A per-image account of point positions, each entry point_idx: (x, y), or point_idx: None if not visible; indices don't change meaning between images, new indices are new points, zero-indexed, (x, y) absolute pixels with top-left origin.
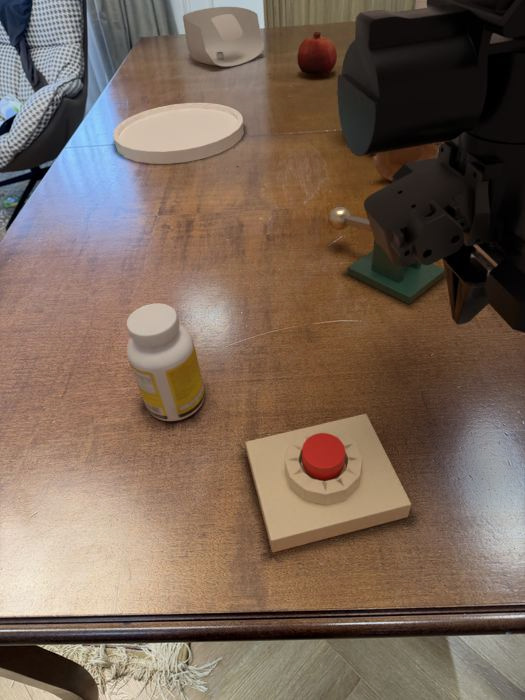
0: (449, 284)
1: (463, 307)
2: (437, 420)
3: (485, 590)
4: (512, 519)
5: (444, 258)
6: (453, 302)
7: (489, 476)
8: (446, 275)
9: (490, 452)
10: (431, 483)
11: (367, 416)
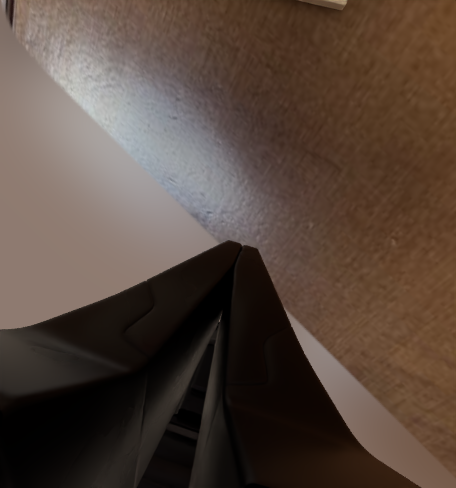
0: (264, 320)
1: (170, 270)
2: (277, 149)
3: (31, 7)
4: (104, 119)
5: (229, 446)
6: (239, 275)
7: (164, 142)
8: (295, 350)
9: (194, 173)
10: (186, 52)
11: (336, 3)
